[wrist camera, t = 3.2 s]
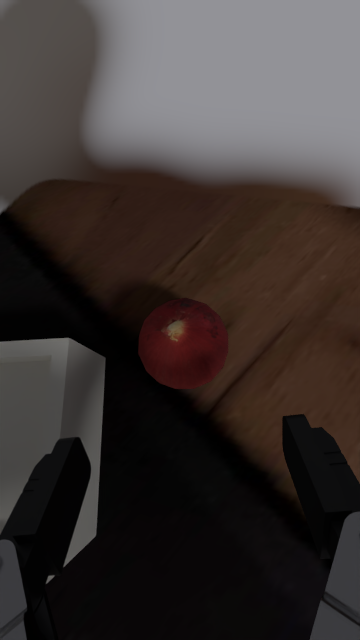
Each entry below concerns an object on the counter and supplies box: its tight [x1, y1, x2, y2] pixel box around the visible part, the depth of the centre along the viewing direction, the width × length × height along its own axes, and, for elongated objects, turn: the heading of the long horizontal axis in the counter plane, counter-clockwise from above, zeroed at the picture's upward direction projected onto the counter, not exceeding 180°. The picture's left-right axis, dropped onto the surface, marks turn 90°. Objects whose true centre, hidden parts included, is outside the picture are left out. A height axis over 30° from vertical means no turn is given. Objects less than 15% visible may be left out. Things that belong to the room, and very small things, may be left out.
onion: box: [138, 298, 228, 389], centre depth 19 cm, size 6×6×8 cm
